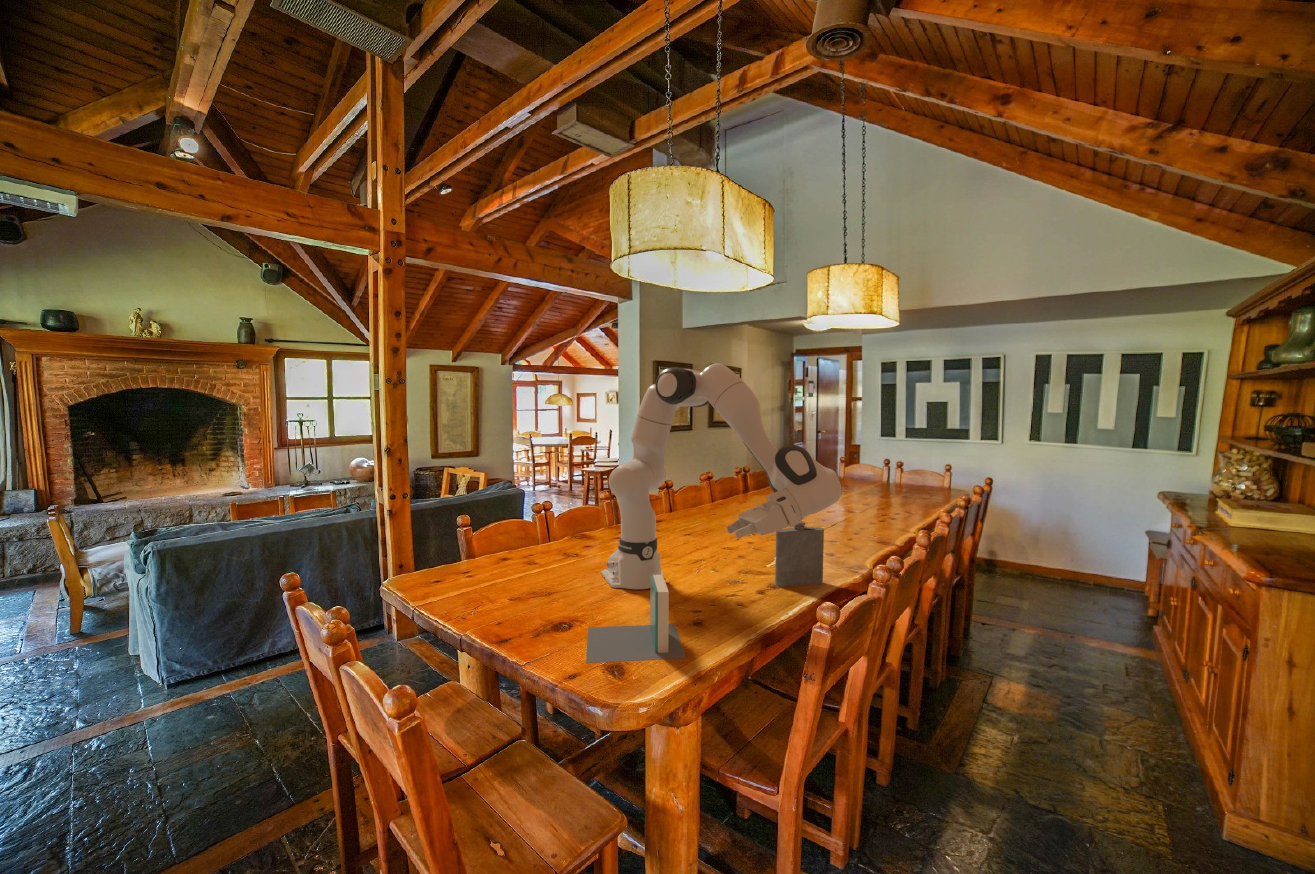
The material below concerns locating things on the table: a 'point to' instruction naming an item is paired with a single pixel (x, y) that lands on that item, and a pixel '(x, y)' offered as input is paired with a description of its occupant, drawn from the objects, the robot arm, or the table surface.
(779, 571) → the hip flask
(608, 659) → the mat
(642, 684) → the table surface
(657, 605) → the tile
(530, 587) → the table surface
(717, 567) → the table surface
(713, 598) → the table surface
